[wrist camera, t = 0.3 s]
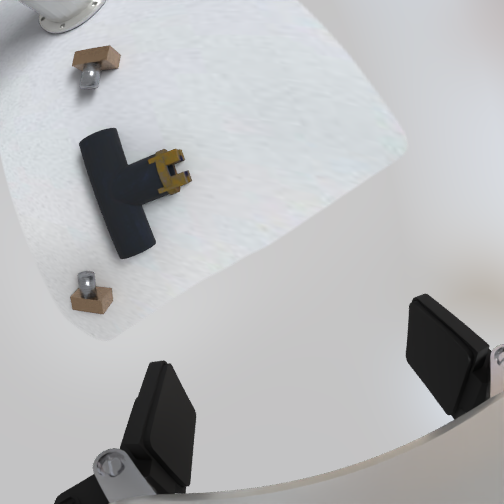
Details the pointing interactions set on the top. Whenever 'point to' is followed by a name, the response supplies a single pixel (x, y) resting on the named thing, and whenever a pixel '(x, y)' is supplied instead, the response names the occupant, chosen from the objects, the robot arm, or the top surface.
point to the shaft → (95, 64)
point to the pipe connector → (129, 187)
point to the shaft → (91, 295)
